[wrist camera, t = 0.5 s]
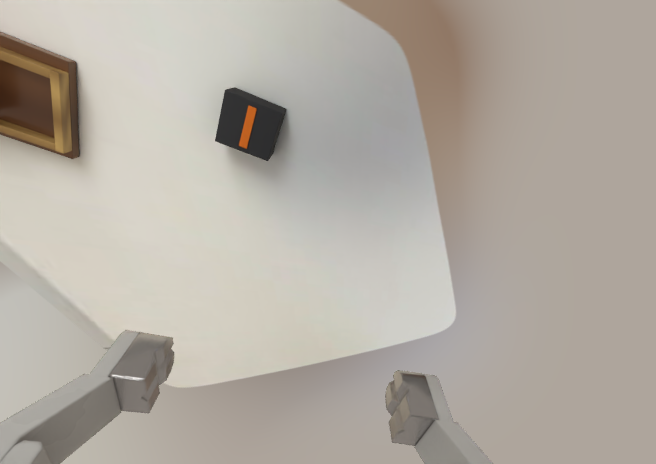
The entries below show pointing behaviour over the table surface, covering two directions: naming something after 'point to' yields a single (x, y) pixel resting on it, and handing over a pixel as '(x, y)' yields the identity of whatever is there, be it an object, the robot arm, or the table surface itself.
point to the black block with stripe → (249, 123)
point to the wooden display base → (38, 97)
